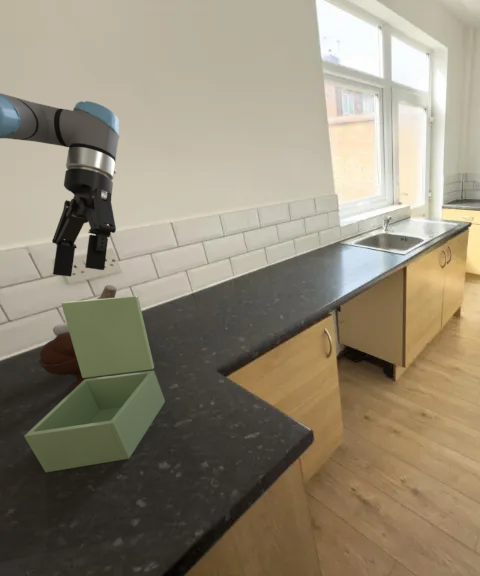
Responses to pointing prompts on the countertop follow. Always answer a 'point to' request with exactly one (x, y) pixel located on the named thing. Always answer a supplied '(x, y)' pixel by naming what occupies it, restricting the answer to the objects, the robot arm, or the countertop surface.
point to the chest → (97, 421)
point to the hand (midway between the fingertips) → (77, 272)
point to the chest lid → (108, 336)
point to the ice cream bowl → (61, 358)
